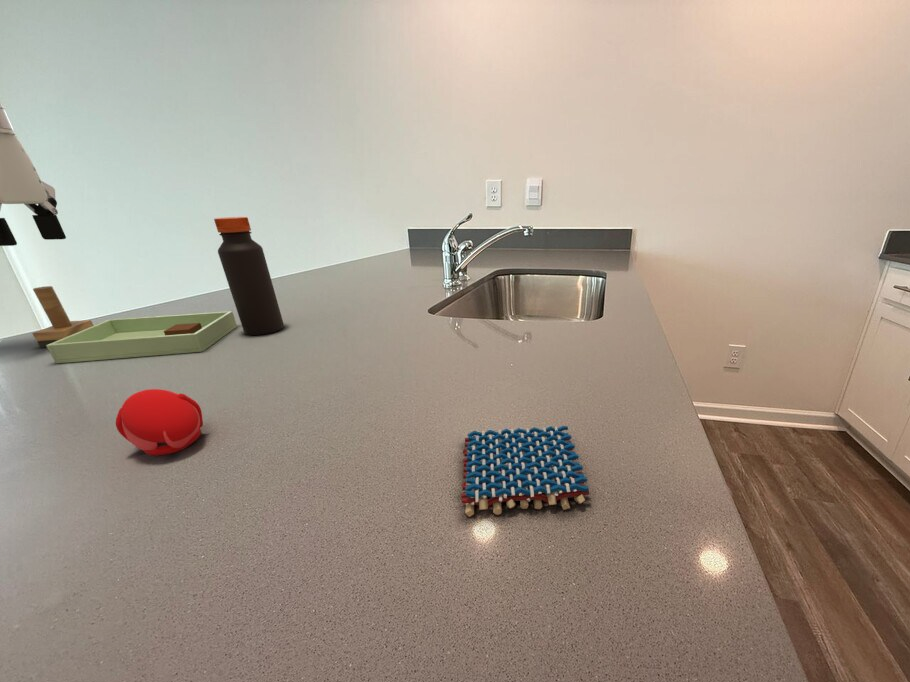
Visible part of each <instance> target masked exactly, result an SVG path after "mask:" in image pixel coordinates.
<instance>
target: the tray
mask: <svg viewBox="0 0 910 682" xmlns="http://www.w3.org/2000/svg"><path fill="white" fill-rule="evenodd" d="M190 323H200V324H201V326H202V329H200V330H199V331H197V332H195V333H194V334H180V335H166V336H165V333H164V331H165V330H167V329H169V328H171V327H172V326H174V325H176V324H190ZM93 325H94V326H92V327H90V328H87V329H85V330H82V331H80V332H77V333H75V334H73V335H70V336H68V337H65V338H63V339H60V340H58V341H56V342H53V343H51V344H48V345H46V346H47V347H46V348H47V350H48V352H49V354H50V355H51V357H52V359H53V361H54V362H55V364H68V363H79V362H81V363H82V362H89V361H90V362H92V361H94V362H95V361H103V360H116V359H128V358H130V359H131V358H143V357H153V356H165V355H178V354H179V355H180V354H190V353H191V354H192V353H202V352H204V351H206V350H207V349H208V348H210V347H211V346H212V345H214V344H215V343H216V342H218V341H219V340H221V339H222V338H223V337H225V336H226V335H228V334H229V333H231V332H232V331H233V330H235V329H236V328H237V327H238V324H237V321H236V319H235V315H234V312H233V311H232V310H231V311H215V312H202V313H201V312H199V313H185V314H171V315H156V316H143V317H141V316H140V317H127V318H112V319H111V318H110V319H107V320H104V321H102V322H99V323H97V324H93Z"/></svg>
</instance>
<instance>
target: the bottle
mask: <svg viewBox="0 0 910 682" xmlns="http://www.w3.org/2000/svg"><path fill="white" fill-rule="evenodd" d="M213 220H214V224H215V227H216V230H217V233H219V234H218V235H219V236H220V237H221V238H222V239H221V240H222V243H221V244H220V245H219V247H218V249H217V254H218V257H219V260H220V263H221V266H222V269H223V272H224V275H225V278H226V282H227V284H228V287H229V290H230V293H231V297H232V299H233V302H234V306H235V310H236V312H237V315H238V317H239V321H240V324H241V327H242V331H243V332H244V333H245V335H249V336H262V335H263V336H264V335H269V334H273V333H277V332H279V331H282V329H284V327H285V323H284V319H283V317H282V312H281V309H280V306H279V302H278V298H277V296H276V292H275V289H274V285H273V284H274V283H273V281H272V277H271V274H270V270H269V267H268V263H267V259H266V256H265V253H264V248H263V246H262V245H261V244H259V243H258V242H256V241H255V240H254V239H253V238H252V235H251V234H252V228H251V224H250V222H249V221H250V220H249V218H248V216H232V217H217V218H214V219H213Z"/></svg>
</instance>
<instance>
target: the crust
mask: <svg viewBox="0 0 910 682" xmlns="http://www.w3.org/2000/svg"><path fill="white" fill-rule="evenodd" d="M200 329H202V326H201V324H200V323H190V324H176V325H174V326H172V327H171V328H169V329H167V330H165V331H164V333H165V336H166V335H180V334H194V333H195V332H197V331H199V330H200Z"/></svg>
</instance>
